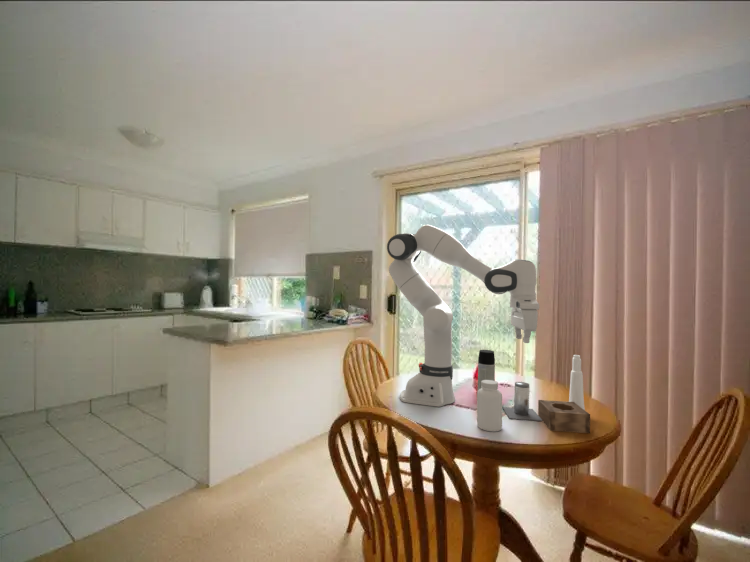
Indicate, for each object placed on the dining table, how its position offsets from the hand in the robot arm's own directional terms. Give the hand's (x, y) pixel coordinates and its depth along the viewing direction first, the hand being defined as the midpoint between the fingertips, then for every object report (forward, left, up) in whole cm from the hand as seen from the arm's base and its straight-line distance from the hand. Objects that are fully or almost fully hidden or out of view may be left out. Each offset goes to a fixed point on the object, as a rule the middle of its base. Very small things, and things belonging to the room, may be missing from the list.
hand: (522, 340), depth 125 cm
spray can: (-10, +15, -27) cm, 33 cm away
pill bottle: (-14, -14, -27) cm, 34 cm away
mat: (0, 0, -27) cm, 27 cm away
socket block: (+12, -7, -27) cm, 30 cm away
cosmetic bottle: (+20, +3, -27) cm, 34 cm away
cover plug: (0, 0, -27) cm, 27 cm away
